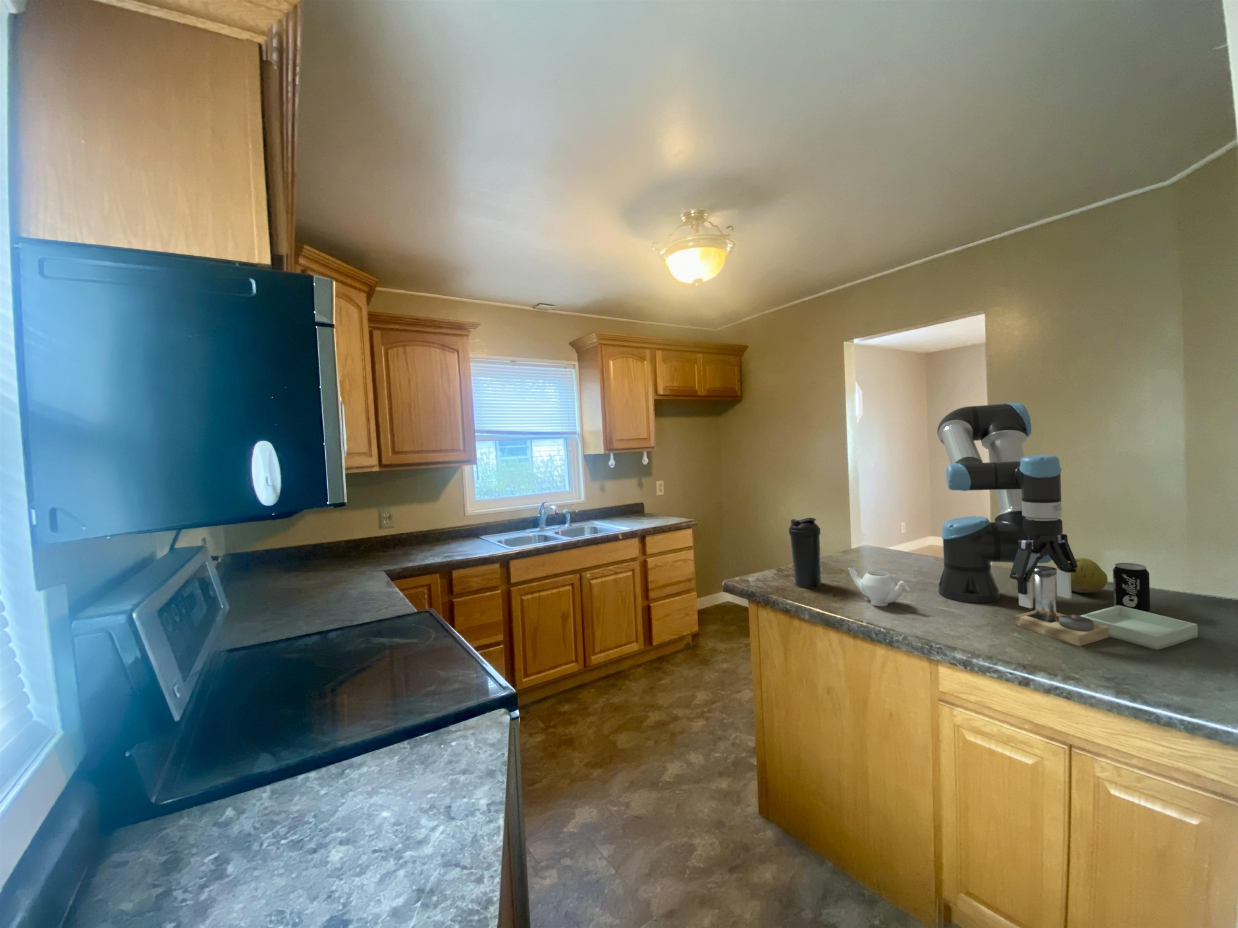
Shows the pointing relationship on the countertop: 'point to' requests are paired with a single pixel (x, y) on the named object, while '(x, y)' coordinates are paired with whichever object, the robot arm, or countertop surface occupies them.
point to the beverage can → (1131, 586)
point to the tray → (1143, 627)
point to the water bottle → (806, 552)
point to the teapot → (878, 586)
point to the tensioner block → (1064, 628)
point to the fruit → (1087, 577)
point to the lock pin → (1045, 593)
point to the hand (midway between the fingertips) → (1045, 601)
